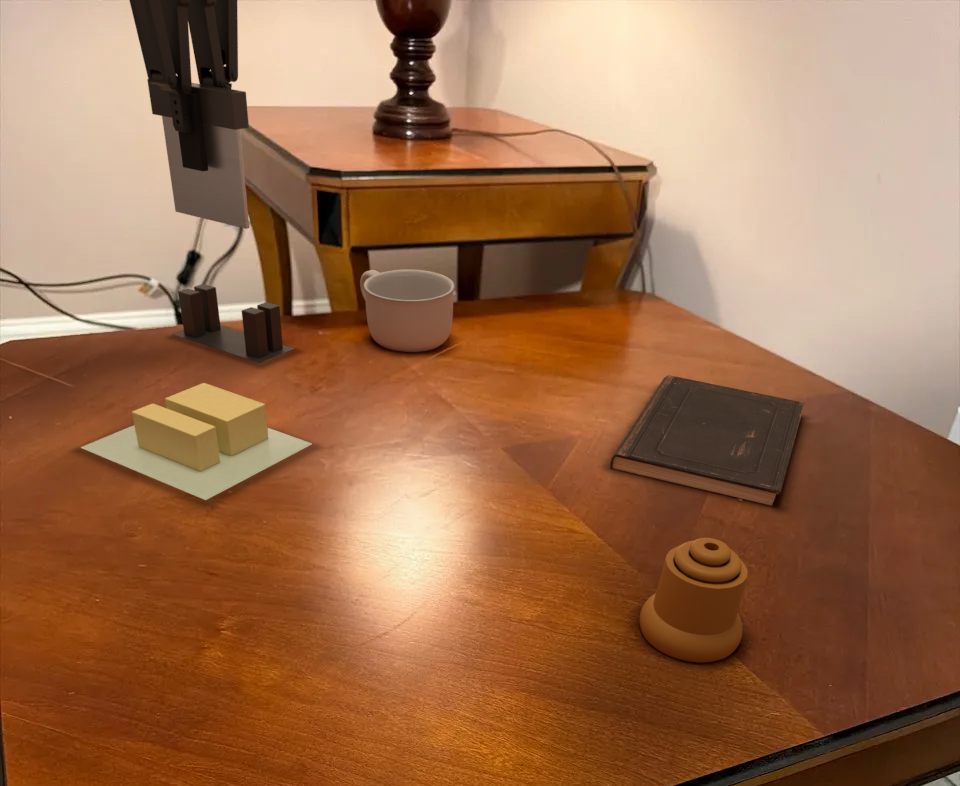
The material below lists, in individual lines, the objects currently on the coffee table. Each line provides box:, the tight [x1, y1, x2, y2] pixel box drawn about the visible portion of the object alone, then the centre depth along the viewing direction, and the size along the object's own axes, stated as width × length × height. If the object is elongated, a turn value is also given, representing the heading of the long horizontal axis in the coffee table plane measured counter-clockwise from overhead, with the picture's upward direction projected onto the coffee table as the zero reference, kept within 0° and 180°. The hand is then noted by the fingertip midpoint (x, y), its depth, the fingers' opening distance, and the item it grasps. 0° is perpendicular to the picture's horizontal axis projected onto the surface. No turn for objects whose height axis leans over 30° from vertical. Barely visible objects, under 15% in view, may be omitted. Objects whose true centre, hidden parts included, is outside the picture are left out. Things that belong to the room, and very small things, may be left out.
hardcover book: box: [609, 374, 806, 506], centre depth 90 cm, size 16×23×2 cm
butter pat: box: [131, 403, 220, 471], centre depth 79 cm, size 8×2×4 cm, turn 58°
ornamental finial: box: [639, 537, 749, 664], centre depth 62 cm, size 8×8×8 cm
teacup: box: [359, 268, 455, 353], centre depth 107 cm, size 14×11×8 cm
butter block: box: [164, 382, 269, 456], centre depth 83 cm, size 8×5×4 cm, turn 58°
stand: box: [172, 283, 295, 364], centre depth 102 cm, size 14×6×6 cm, turn 58°
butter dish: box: [80, 424, 313, 501], centre depth 82 cm, size 16×14×1 cm
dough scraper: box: [146, 78, 250, 230], centre depth 87 cm, size 11×2×12 cm, turn 59°
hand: (205, 166), depth 88 cm, fingers closed on dough scraper, 2 cm apart
